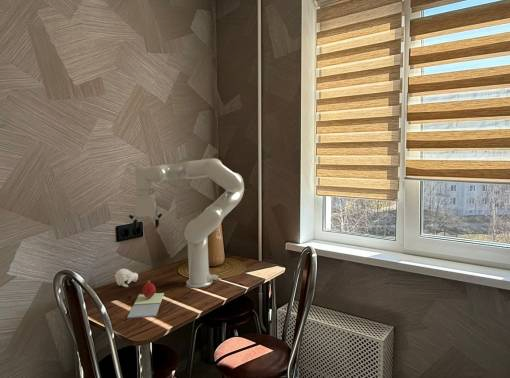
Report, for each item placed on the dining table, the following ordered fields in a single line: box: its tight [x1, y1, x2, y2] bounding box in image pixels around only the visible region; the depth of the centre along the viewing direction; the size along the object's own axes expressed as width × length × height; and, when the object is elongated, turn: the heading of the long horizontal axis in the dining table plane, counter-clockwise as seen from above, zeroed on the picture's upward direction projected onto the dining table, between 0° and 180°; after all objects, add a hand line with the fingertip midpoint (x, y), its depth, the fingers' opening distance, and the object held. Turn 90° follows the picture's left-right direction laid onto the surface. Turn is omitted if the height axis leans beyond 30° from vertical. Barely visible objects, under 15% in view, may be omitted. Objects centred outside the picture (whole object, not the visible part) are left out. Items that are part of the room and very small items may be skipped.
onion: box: [141, 280, 157, 298], centre depth 173 cm, size 6×6×8 cm
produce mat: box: [133, 292, 165, 306], centre depth 173 cm, size 11×11×1 cm
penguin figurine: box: [114, 268, 139, 288], centre depth 193 cm, size 6×8×12 cm
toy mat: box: [126, 304, 161, 319], centre depth 161 cm, size 11×11×1 cm
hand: (146, 228), depth 188 cm, fingers open, 9 cm apart
